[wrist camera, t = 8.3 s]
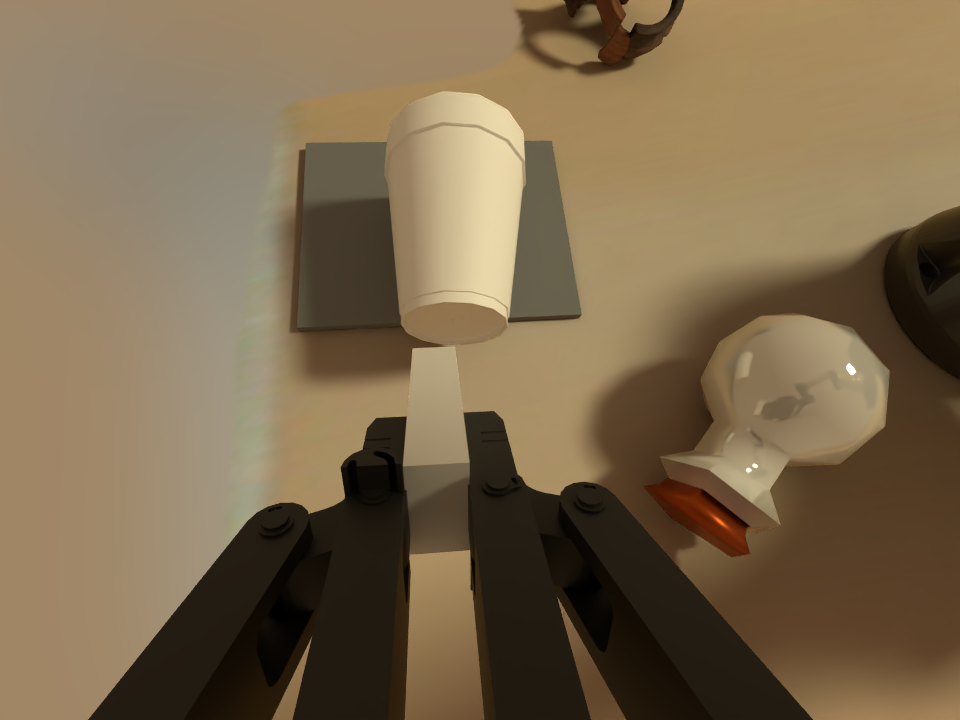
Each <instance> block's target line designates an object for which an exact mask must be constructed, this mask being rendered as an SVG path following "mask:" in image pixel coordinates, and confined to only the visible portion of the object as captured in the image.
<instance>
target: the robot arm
mask: <svg viewBox="0 0 960 720" xmlns="http://www.w3.org/2000/svg"><path fill="white" fill-rule="evenodd" d="M885 283H886V289H887V294H888V297H889V300H890V303H891V306H892V308H893V310H894V312H895V314H896V316H897V318H898V320H899V322H900V323H901V325H902V326H903V328H904V329H905V331H906V332H907V334H908V335H909V336H910V337H911V339H912V340H913V341H914V342H915V343H916V345H917V346H918V347H919V348H920V349H921V350H922V351H923V352H924V353H925V354H926V355H927V356H929V357H930V358H931V359H932V360H933V361H934V362H936V363H937V364H938V365H940V366H941V367H942V368H944V369H945V370H947V371H948V372H950V373H951V374H953V375H955V376H956V377H958V378H960V206H958V207H955V208H952V209H949V210H946V211H943V212H940V213H938V214H936V215H934V216H932V217H930V218H928V219H927V220H925V221H923V222H922V223H920V224H919V225H917V226H915V227H914V228H912V229H911V230H909V231H907V232H906V233H904V234H903V235H902V236H901V237H900V238H899V239H898V240H897V241H896V242H895V243H894V245H893V246H892V248H891V250H890V252H889V254H888V257H887V261H886V266H885ZM341 473H342V479H343V485H344V492H345V499H344V500H343V501H341V502H340V503H338V504H336V505H334V506H332V507H329V508H327V509H324V510H320V511H317V512H314V513H310V514H308V511H307V510H306V509H305V508H304V507H303V506H302V505H299V504H295V503H279V504H275V505H272V506H268V507H266V508H265V509H263V510H261V511H259V512H257V513H256V514H255V515H254V516H253V517H252V518H250V519H249V520H248V521H247V523H246V524H245V525H244V526H243V527H242V529H241V530H240V531H239V532H238V534H237V535H236V536H235V537H234V539H233V540H232V541H231V542H230V544H229V545H228V546H227V547H226V549H225V550H224V551H223V552H222V554H221V555H220V556H219V557H218V559H217V560H216V561H215V563H214V564H213V565H212V566H211V568H210V569H209V570H208V571H207V572H206V574H205V575H204V576H203V577H202V579H201V580H200V581H199V582H198V584H197V585H196V586H195V587H194V589H193V590H192V591H191V593H190V594H189V595H188V596H187V597H186V599H185V600H184V601H183V602H182V603H181V605H180V606H179V607H178V608H177V610H176V611H175V612H174V613H173V615H172V616H171V617H170V618H169V620H168V621H167V622H166V623H165V625H164V626H163V627H162V628H161V630H160V631H159V632H158V634H157V635H156V636H155V637H154V638H153V640H152V641H151V642H150V643H149V645H148V646H147V647H146V649H145V650H144V651H143V652H142V653H141V655H140V656H139V657H138V658H137V660H136V661H135V662H134V664H133V665H132V666H131V667H130V668H129V670H128V671H127V672H126V673H125V675H124V676H123V677H122V678H121V679H120V681H119V682H118V683H117V684H116V686H115V687H114V688H113V689H112V691H111V692H110V693H109V694H108V696H107V697H106V698H105V699H104V701H103V702H102V703H101V705H100V706H99V707H98V708H97V709H96V711H95V712H94V713H93V714H92V716H91V717H90V718H89V719H88V720H272V718H273V716H274V714H275V712H276V710H277V707H278V705H279V703H280V701H281V699H282V697H283V695H284V693H285V691H286V689H287V687H288V685H289V683H290V681H291V679H292V677H293V674H294V672H295V670H296V668H297V666H298V664H299V662H300V660H301V658H302V656H303V654H304V652H305V650H306V648H307V646H308V643H309V641H310V639H311V637H312V640H311V644H310V648H309V653H308V657H307V661H306V665H305V670H304V674H303V678H302V682H301V687H300V691H299V695H298V699H297V704H296V708H295V712H294V716H293V720H405V697H406V673H407V649H408V625H409V600H410V576H411V572H410V560H409V555H411V554H424V553H437V552H450V551H463V550H470V556H471V590H473V600H474V611H475V621H476V632H477V643H478V654H479V665H480V675H481V686H482V697H483V708H484V719H485V720H591V719H590V715H589V711H588V708H587V704H586V700H585V697H584V693H583V690H582V686H581V682H580V679H579V675H578V672H577V668H576V664H575V661H574V657H573V653H572V650H571V646H570V643H569V639H568V635H567V632H566V628H565V625H564V621H563V617H562V614H561V610H560V606H559V603H558V599H557V597H558V598H559V600H560V602H561V604H562V606H563V607H564V609H565V611H566V613H567V614H568V616H569V618H570V620H571V622H572V623H573V625H574V627H575V629H576V630H577V632H578V634H579V636H580V638H581V639H582V641H583V643H584V645H585V647H586V648H587V650H588V652H589V654H590V655H591V657H592V659H593V661H594V663H595V664H596V666H597V668H598V670H599V672H600V673H601V675H602V677H603V679H604V680H605V682H606V684H607V686H608V688H609V689H610V691H611V693H612V695H613V696H614V698H615V700H616V702H617V704H618V705H619V707H620V709H621V711H622V713H623V714H624V716H625V718H626V720H813V719H812V718H811V717H810V716H809V715H808V713H807V712H806V711H805V710H804V709H803V708H802V707H801V706H800V704H799V703H798V702H797V701H796V700H795V699H794V698H793V696H792V695H791V694H790V693H789V692H788V691H787V690H786V689H785V687H784V686H783V685H782V684H781V683H780V682H779V681H778V679H777V678H776V677H775V676H774V675H773V674H772V673H771V672H770V670H769V669H768V668H767V667H766V666H765V665H764V664H763V663H762V661H761V660H760V659H759V658H758V657H757V656H756V655H755V653H754V652H753V651H752V650H751V649H750V648H749V647H748V646H747V644H746V643H745V642H744V641H743V640H742V639H741V638H740V636H739V635H738V634H737V633H736V632H735V631H734V630H733V629H732V627H731V626H730V625H729V624H728V623H727V622H726V621H725V620H724V618H723V617H722V616H721V615H720V614H719V613H718V612H717V610H716V609H715V608H714V607H713V606H712V605H711V604H710V603H709V601H708V600H707V599H706V598H705V597H704V596H703V595H702V593H701V592H700V591H699V590H698V589H697V588H696V587H695V586H694V584H693V583H692V582H691V581H690V580H689V579H688V578H687V576H686V575H685V574H684V573H683V572H682V571H681V570H680V569H679V567H678V566H677V565H676V564H675V563H674V562H673V561H672V560H671V558H670V557H669V556H668V555H667V554H666V553H665V552H664V550H663V549H662V548H661V547H660V546H659V545H658V544H657V543H656V541H655V540H654V539H653V538H652V537H651V536H650V535H649V533H648V532H647V531H646V530H645V529H644V528H643V527H642V526H641V524H640V523H639V522H638V521H637V520H636V519H635V518H634V517H633V515H632V514H631V513H630V512H629V511H628V510H627V509H626V507H625V506H624V505H623V504H622V503H621V502H620V501H619V500H618V498H617V497H616V496H615V495H614V494H613V493H611V492H610V491H609V490H608V489H607V488H604V487H602V486H600V485H598V484H594V483H588V482H579V483H573V484H571V485H569V486H566V487H565V488H564V489H563V491H562V492H561V494H560V496H559V495H554V494H548V493H543V492H540V491H536V490H534V489H532V488H530V487H528V486H527V485H526V484H525V482H524V481H523V479H522V477H520V476H519V475H518V474H517V471H516V467H515V463H514V459H513V456H512V452H511V448H510V444H509V442H508V437H507V433H506V429H505V425H504V422H503V419H501V418H500V417H499V416H498V415H497V414H496V413H495V412H494V411H487V412H467V413H463V406H462V398H461V390H460V382H459V374H458V365H457V357H456V349H455V347H433V348H413V350H412V362H411V374H410V386H409V398H408V410H407V417H389V418H376V419H375V420H374V421H373V422H372V424H371V425H370V426H369V427H368V428H367V432H366V436H365V442H364V445H363V450H361V451H359V452H356V453H354V454H352V455H351V456H349V457H348V458H347V459H346V460H345V461H344V462H343V464H342V466H341ZM556 595H557V596H556Z"/></svg>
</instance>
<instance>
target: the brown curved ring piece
mask: <svg viewBox="0 0 960 720" xmlns="http://www.w3.org/2000/svg"><path fill="white" fill-rule="evenodd" d="M564 1H565V3H566V6H567V10H568V14H569V17H574V15H575V12H576V8H578V9H579V8H580V7H581V5H582V4H583V3H584V2H585V1H586V0H564ZM628 1H629V0H596V5H597V9H598V11H599V14H600V17H601V20H602V23H603V26H604V28H605V30H606V32H607V33H608V35H609V36H610V37H611V38H610V39H609V41H608V43H607V44H606V46H605V47H604V48H602V49H601V50H600V51H599V54H598V58H599V59H600V60H601V61H602V62H604V63H605V64H607V65H609V66H610V65H612V64H614V63H618V61H619V60H620V59H621V58H623V60H629V59H632V58H635V57H638V56H641V55H643V54H645V53H647V52H649V51H651V50H653V49H654V48H656V47H657V46H659V45H660V44H661V43H662V39H663V37H666V36H667V35H668V34H669V32H670V30H671V29H672V26H673V24H674V21H675V20H676V19H677V17H678V15H679V13H680V12H681V9H682V7H683V3H684V0H672V3H671V7H670V10H669V12H668V14H667V16H666V17H665V18H664V19H663V20H661V21H660V22H658V23H656V24H653V25H643V24H639V23H635V25H634V27H633V29H632V30H631V32H630V33H629V32H628V31H627V30H625V29H624V28H623V27H622V25H621V23H622V21H623V20H624V18H625V16H626V13H625V11H624V10H623V8H622V6H621V4H620V2H622V3H623V4H626V3H627V2H628Z"/></svg>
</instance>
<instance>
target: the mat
mask: <svg viewBox="0 0 960 720" xmlns="http://www.w3.org/2000/svg"><path fill="white" fill-rule="evenodd" d="M386 145H387V142H358V143H306V152H305V172H304V192H303V213H302V233H301V253H300V273H299V293H298V314H297V329H298V330H299V331H312V330H333V329H354V328H375V327H396V326H402V325H401V315H400V313H399V302H398V291H397V279H396V268H395V257H394V246H393V235H392V223H391V212H390V201H389V190H388V182H387V180H386V178H385V176H384V170H385V156H386ZM524 151H525V173H526V185H525V186H524V188H523V190H522V199H521V209H520V218H519V228H518V237H517V247H516V257H515V266H514V276H513V285H512V295H511V305H510V314H509V318H508V321H523V320H544V319H565V318H579V317H580V316H581V309H580V303H579V297H578V292H577V286H576V280H575V274H574V268H573V262H572V257H571V251H570V245H569V239H568V233H567V227H566V221H565V216H564V210H563V204H562V198H561V192H560V186H559V181H558V175H557V169H556V163H555V157H554V151H553V146H552V141H524Z"/></svg>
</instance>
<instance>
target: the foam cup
mask: <svg viewBox="0 0 960 720" xmlns="http://www.w3.org/2000/svg"><path fill="white" fill-rule="evenodd" d="M384 176H385V178H386V180H387V182H388V190H389V201H390V212H391V223H392V235H393V246H394V257H395V268H396V279H397V291H398V302H399V313H400V315H401V325H402V327H403V328H404V329H405V331H406V332H407V333H408V334H410V335H412V336H414V337H416V338H418V339H420V340H423V341H427V342H432V343H437V344H445V345H467V344H474V343H481V342H485V341H488V340H490V339H493V338H496V337H498V336H500V335H501V334H502V333H503V332H504V331H505V330H506V329H507V328H508V318H509V314H510V305H511V295H512V285H513V276H514V266H515V257H516V247H517V237H518V228H519V218H520V209H521V199H522V190H523V188H524V186H525V185H526V173H525V151H524V133H523V131H522V130H521V128H520V127H519V125H518V124H517V123H516V121H515V120H514V118H513V117H512V115H511V114H510V112H509V111H508V110H507V109H505V108H503V107H502V106H500V105H498V104H496V103H494V102H492V101H490V100H488V99H486V98H485V97H483V96H481V95H479V94H470V93H458V92H446V91H442V92H439V93H436V94H433V95H430V96H427V97H424V98H421V99H418V100H415V101H412V102H410V103H409V104H408V105H407V106H406V107H405V108H404V109H403V110H402V112H401V113H400V114H399V115H398V116H397V117H396V118H395V119H394V120H393V121H392V122H391V124H390V129H389V135H388V140H387V145H386V156H385V170H384Z"/></svg>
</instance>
